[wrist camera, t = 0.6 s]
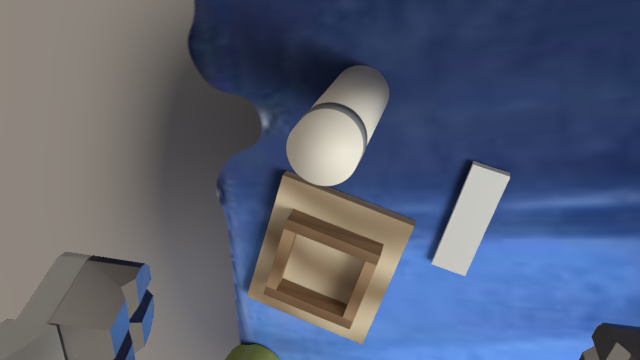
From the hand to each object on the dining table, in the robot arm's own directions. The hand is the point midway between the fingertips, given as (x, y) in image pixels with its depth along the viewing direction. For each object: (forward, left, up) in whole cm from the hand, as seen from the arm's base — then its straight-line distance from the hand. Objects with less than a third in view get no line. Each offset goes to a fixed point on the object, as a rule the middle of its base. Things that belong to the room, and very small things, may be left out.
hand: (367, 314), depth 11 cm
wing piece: (+15, +7, -37) cm, 41 cm away
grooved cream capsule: (+8, -4, -36) cm, 38 cm away
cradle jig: (+24, -2, -36) cm, 44 cm away
